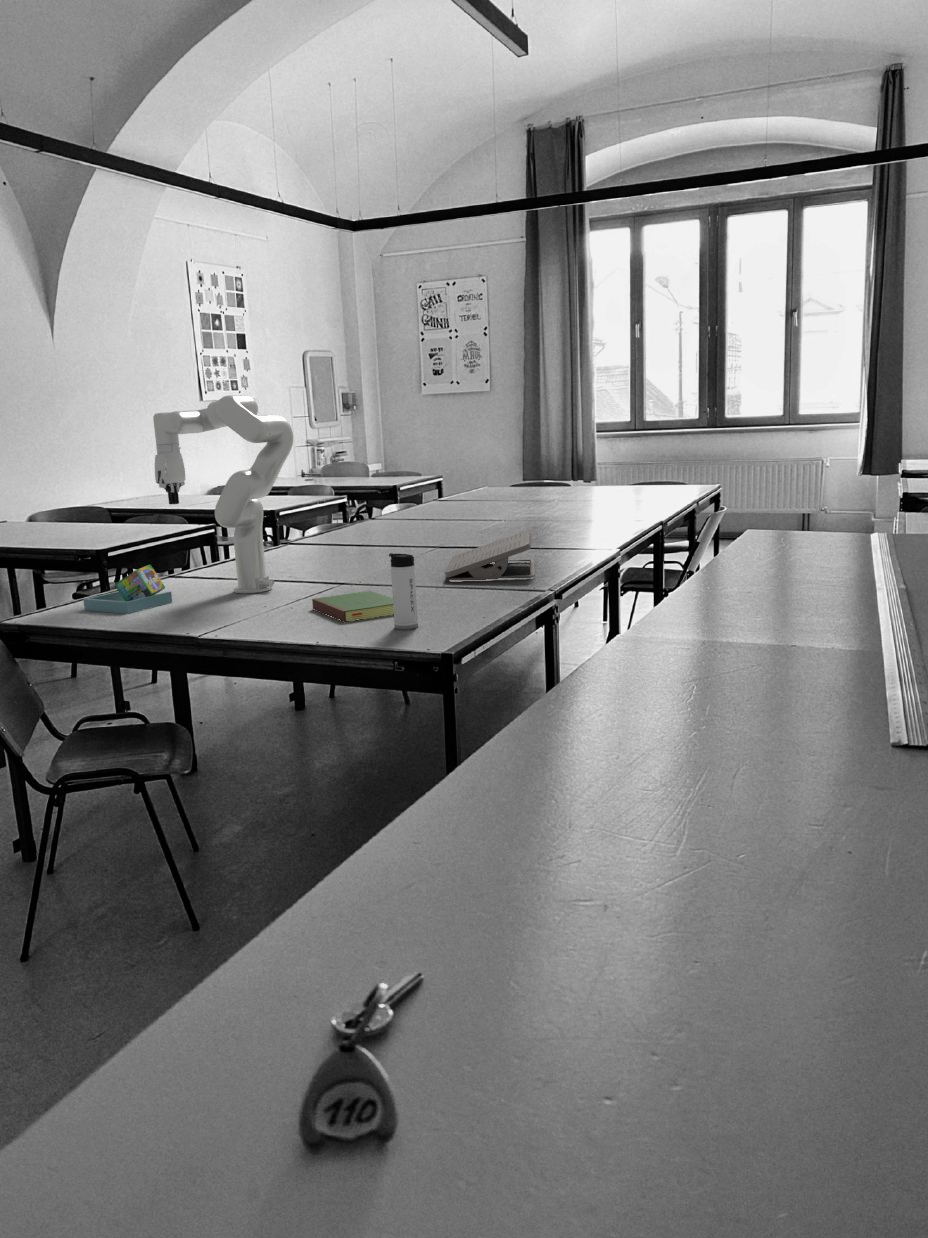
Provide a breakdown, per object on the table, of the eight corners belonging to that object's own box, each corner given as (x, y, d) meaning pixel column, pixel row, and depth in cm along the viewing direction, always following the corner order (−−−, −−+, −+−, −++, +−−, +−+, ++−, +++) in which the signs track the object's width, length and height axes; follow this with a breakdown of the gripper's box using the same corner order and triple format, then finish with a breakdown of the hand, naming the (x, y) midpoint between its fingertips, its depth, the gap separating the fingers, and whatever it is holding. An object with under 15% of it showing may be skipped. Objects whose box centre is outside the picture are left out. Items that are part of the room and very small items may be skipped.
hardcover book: (313, 611, 294) (312, 598, 293) (370, 602, 303) (369, 590, 302) (345, 625, 273) (344, 611, 272) (406, 615, 281) (405, 602, 281)
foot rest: (453, 566, 365) (451, 532, 363) (534, 563, 363) (533, 529, 360) (444, 585, 327) (442, 547, 325) (535, 581, 325) (533, 543, 322)
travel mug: (393, 625, 266) (388, 552, 262) (417, 624, 267) (413, 550, 262) (393, 630, 260) (388, 555, 256) (418, 629, 261) (414, 553, 256)
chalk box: (150, 563, 319) (131, 570, 305) (166, 587, 320) (148, 595, 306) (128, 578, 321) (108, 585, 306) (143, 602, 322) (124, 610, 307)
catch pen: (172, 602, 317) (171, 591, 316) (128, 613, 301) (126, 602, 300) (129, 599, 326) (128, 588, 325) (84, 610, 311) (83, 599, 310)
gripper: (176, 448, 343) (182, 501, 346) (143, 451, 330) (149, 506, 334) (192, 448, 339) (197, 501, 343) (159, 450, 326) (165, 506, 330)
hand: (174, 503), depth 338 cm, fingers closed
